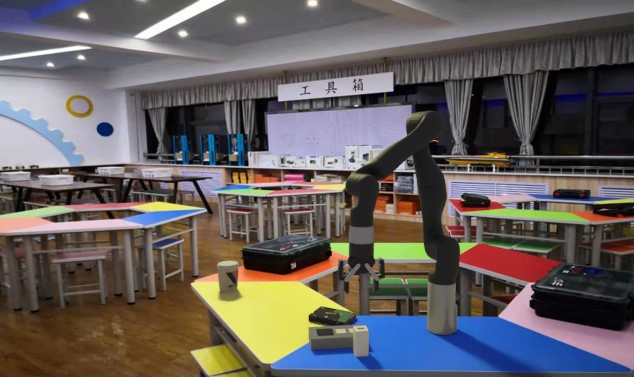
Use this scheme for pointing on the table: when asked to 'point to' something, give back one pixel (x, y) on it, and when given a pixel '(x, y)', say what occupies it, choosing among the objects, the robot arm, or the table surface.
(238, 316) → the table surface
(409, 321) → the table surface
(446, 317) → the robot arm
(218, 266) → the coffee cup
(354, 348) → the cream rectangular block
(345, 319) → the disk drive
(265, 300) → the table surface
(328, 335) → the power strip
